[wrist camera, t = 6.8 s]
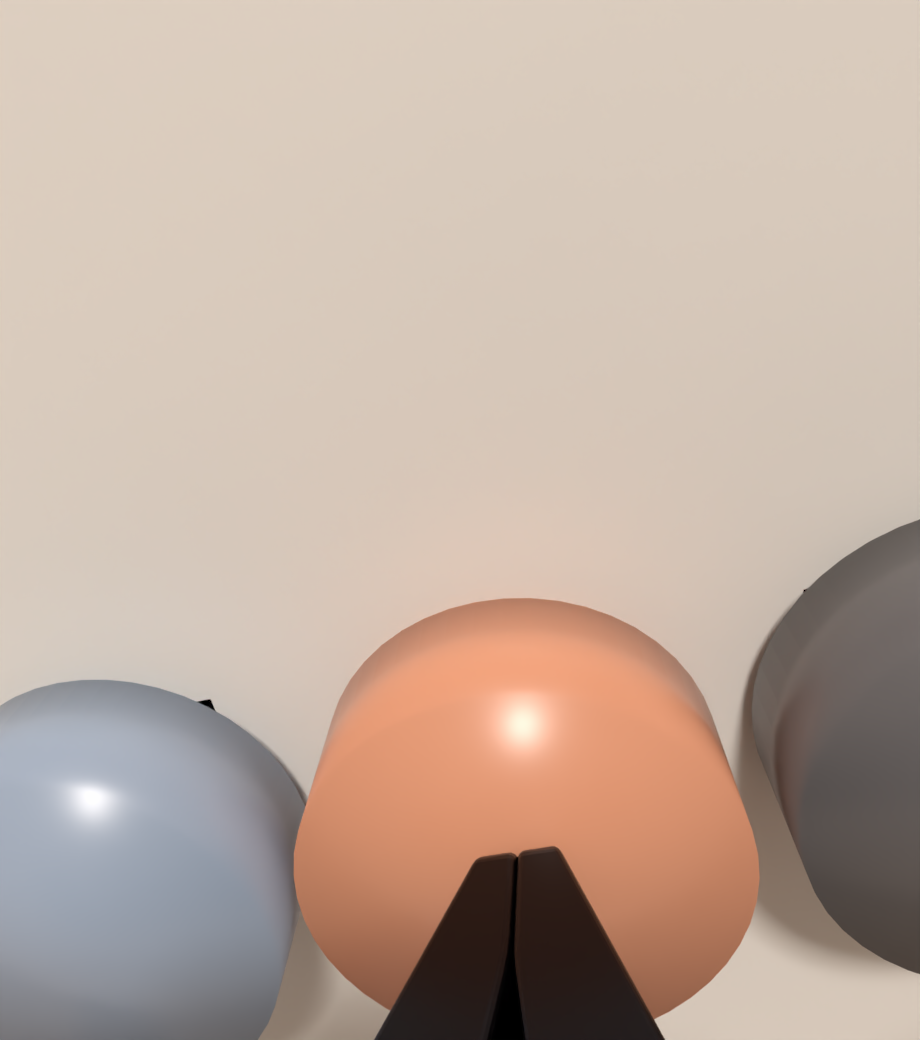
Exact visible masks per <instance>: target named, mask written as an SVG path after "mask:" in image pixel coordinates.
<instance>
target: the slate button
mask: <svg viewBox="0 0 920 1040" xmlns="http://www.w3.org/2000/svg"><path fill="white" fill-rule="evenodd" d="M304 810H305V805H304V803H303V801H302V799H301V797H300V795H299V793H298V791H297V789H296V787H295V785H294V784H293V782H292V781H291V779H290V778H289V776H288V775H287V773H286V772H285V770H284V769H283V767H282V766H281V765H280V764H279V763H278V762H277V760H276V759H275V758H274V757H273V756H272V755H271V753H270V752H269V751H268V750H267V749H266V748H265V747H264V746H262V745H261V744H260V743H259V742H258V741H257V740H256V739H255V738H254V737H253V736H252V735H250V734H249V733H248V732H246V731H245V730H244V729H242V728H241V727H240V726H238V725H237V724H235V723H234V722H233V721H231V720H230V719H228V718H226V717H225V716H223V715H221V714H219V713H218V712H216V711H215V708H214V706H213V704H212V703H210V702H209V701H207V700H203V701H197V702H196V701H194V700H191V699H189V698H187V697H185V696H182V695H179V694H176V693H173V692H170V691H167V690H164V689H160V688H157V687H152V686H148V685H143V684H138V683H133V682H125V681H115V680H77V681H69V682H61V683H55V684H51V685H48V686H44V687H40V688H36V689H33V690H31V691H28V692H26V693H23V694H21V695H18V696H16V697H14V698H12V699H10V700H9V701H7V702H5V703H4V704H2V705H0V1040H258V1039H259V1037H260V1035H261V1034H262V1032H263V1031H264V1029H265V1028H266V1026H267V1024H268V1022H269V1020H270V1017H271V1015H272V1013H273V1010H274V1008H275V1004H276V1001H277V997H278V993H279V990H280V986H281V982H282V978H283V975H284V971H285V967H286V964H287V960H288V956H289V952H290V949H291V945H292V941H293V938H294V934H295V930H296V926H297V923H298V919H299V915H300V912H301V909H300V906H299V903H298V900H297V894H296V888H295V882H294V850H295V845H296V839H297V834H298V829H299V826H300V823H301V820H302V816H303V813H304Z"/></svg>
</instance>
